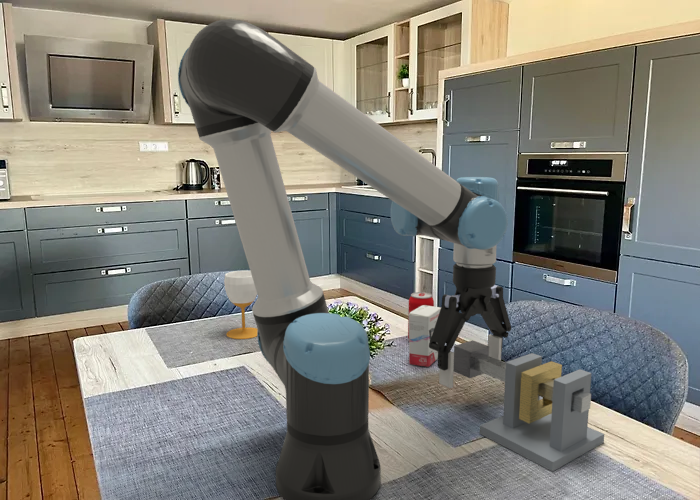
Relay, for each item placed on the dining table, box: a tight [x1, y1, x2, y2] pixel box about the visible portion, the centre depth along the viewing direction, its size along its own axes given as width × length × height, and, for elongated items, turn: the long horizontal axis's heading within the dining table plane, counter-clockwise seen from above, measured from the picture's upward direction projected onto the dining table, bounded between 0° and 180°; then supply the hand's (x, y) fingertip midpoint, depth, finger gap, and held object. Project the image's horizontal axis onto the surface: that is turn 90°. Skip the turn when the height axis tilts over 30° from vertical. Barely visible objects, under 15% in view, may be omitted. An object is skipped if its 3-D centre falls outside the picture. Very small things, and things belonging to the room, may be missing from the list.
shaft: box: [453, 340, 592, 413], centre depth 95 cm, size 5×25×5 cm, turn 36°
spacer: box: [519, 361, 563, 424], centre depth 91 cm, size 8×2×8 cm, turn 126°
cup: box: [223, 270, 258, 340], centre depth 144 cm, size 9×9×16 cm
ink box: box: [408, 305, 441, 368], centre depth 126 cm, size 9×5×12 cm, turn 150°
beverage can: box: [407, 291, 435, 340], centre depth 138 cm, size 6×6×12 cm
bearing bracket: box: [479, 352, 605, 472], centre depth 91 cm, size 14×14×12 cm
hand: (470, 376), depth 104 cm, fingers open, 12 cm apart
